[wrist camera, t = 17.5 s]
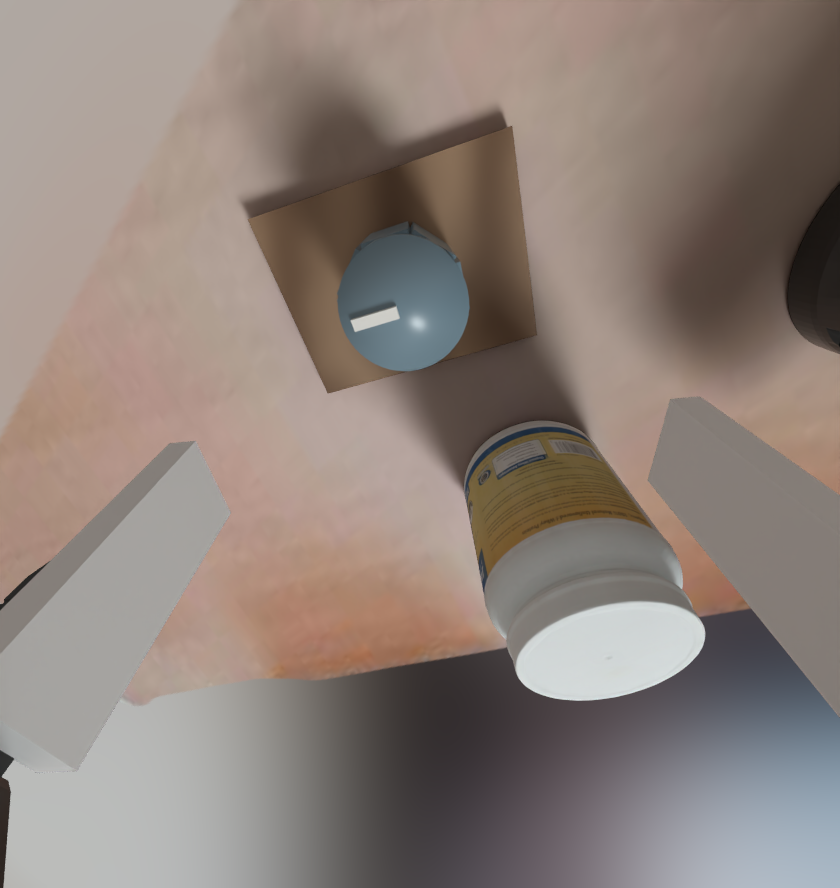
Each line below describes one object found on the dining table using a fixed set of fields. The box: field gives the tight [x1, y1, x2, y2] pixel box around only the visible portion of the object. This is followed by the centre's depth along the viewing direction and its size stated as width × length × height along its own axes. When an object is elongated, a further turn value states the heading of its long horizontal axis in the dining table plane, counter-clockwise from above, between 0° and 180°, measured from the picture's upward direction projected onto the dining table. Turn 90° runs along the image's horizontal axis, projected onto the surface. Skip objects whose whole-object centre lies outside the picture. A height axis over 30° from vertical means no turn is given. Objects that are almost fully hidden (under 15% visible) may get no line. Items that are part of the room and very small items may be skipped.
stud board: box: [248, 126, 537, 393], centre depth 24 cm, size 16×12×6 cm
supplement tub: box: [464, 421, 705, 700], centre depth 28 cm, size 12×12×17 cm
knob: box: [337, 221, 470, 371], centre depth 22 cm, size 7×7×7 cm
